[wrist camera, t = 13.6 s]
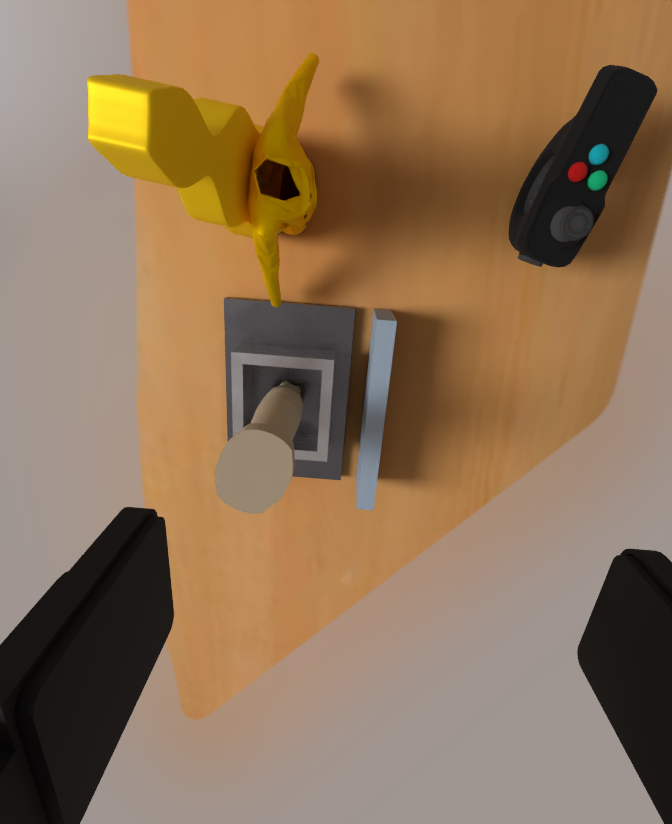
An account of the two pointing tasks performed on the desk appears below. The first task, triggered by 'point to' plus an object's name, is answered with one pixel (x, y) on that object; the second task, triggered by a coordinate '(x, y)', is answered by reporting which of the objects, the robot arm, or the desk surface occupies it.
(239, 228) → the figure statuette
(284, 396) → the handle
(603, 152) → the controller
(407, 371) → the desk surface
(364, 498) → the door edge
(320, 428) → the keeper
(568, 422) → the desk surface
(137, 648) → the robot arm
